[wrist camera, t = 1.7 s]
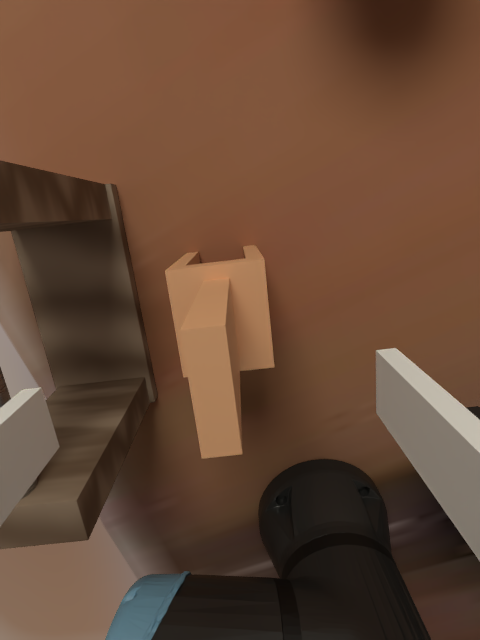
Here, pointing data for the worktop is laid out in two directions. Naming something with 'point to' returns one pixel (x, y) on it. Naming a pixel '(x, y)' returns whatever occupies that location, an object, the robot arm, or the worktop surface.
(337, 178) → the worktop surface
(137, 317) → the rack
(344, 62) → the worktop surface
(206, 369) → the tan joined planks
